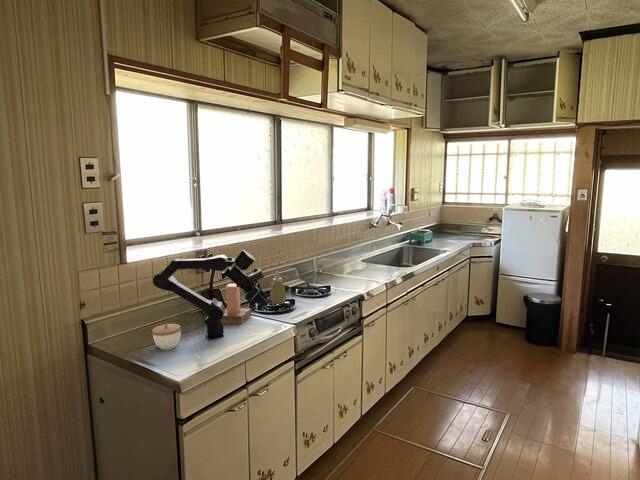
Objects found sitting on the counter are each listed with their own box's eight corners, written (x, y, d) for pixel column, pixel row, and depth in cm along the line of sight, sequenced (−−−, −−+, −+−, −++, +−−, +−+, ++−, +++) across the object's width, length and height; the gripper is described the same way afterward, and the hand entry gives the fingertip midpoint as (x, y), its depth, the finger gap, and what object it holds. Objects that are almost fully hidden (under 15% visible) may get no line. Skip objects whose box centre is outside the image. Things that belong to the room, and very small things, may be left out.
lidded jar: (167, 340, 181) (165, 318, 180) (187, 343, 177) (185, 321, 176) (147, 350, 171) (145, 327, 170) (169, 353, 167) (167, 330, 166)
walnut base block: (241, 325, 198) (241, 316, 198) (217, 323, 201) (216, 315, 200) (251, 316, 210) (250, 308, 209) (228, 315, 212) (227, 307, 212)
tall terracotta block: (237, 313, 202) (236, 286, 200) (227, 313, 202) (225, 286, 200) (240, 309, 207) (239, 283, 205) (230, 309, 207) (228, 283, 205)
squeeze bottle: (279, 302, 230) (278, 269, 227) (289, 305, 224) (288, 271, 222) (267, 305, 224) (265, 271, 222) (277, 308, 219) (275, 274, 216)
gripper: (251, 268, 172) (281, 293, 175) (252, 259, 190) (278, 282, 193) (233, 289, 172) (262, 313, 175) (235, 278, 190) (262, 300, 194)
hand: (267, 301), depth 184 cm, fingers open, 9 cm apart
